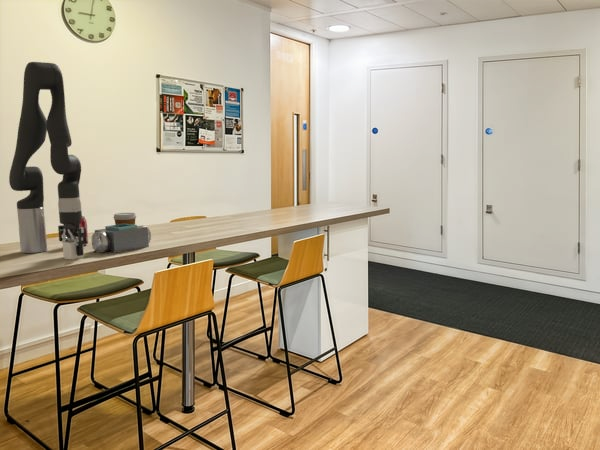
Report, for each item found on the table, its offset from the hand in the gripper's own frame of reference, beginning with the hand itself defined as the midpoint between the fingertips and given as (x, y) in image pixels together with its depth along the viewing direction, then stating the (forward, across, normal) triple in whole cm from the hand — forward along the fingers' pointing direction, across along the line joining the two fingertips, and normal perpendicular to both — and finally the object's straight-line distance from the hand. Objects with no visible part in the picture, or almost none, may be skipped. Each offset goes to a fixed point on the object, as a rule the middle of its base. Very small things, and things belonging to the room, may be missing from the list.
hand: (73, 254), depth 188 cm
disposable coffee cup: (+1, -14, +33) cm, 36 cm away
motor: (+1, 0, +21) cm, 21 cm away
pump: (+1, 0, 0) cm, 1 cm away
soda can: (+1, -22, +16) cm, 27 cm away
